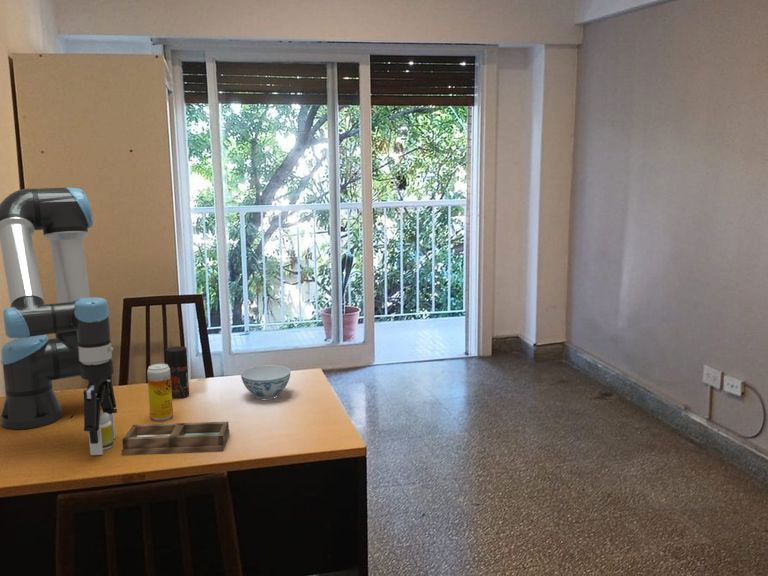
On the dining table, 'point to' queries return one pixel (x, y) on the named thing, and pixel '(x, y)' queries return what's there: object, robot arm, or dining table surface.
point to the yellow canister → (160, 392)
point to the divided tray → (176, 438)
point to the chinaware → (266, 380)
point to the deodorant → (178, 371)
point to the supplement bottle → (106, 431)
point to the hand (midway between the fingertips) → (103, 446)
